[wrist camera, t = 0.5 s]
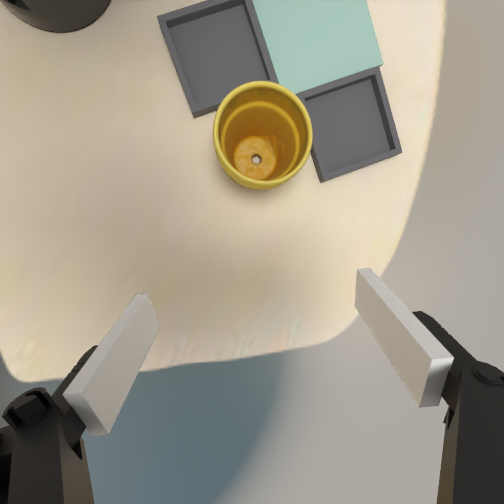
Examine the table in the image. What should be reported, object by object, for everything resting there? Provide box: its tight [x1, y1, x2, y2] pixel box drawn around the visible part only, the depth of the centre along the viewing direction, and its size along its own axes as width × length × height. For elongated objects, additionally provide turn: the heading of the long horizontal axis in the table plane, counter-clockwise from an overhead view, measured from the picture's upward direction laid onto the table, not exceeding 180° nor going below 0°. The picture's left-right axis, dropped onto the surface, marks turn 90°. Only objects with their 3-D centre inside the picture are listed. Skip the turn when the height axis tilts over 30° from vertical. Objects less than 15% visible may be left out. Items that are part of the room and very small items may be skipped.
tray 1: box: [157, 0, 278, 118], centre depth 32 cm, size 12×12×2 cm
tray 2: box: [296, 66, 402, 183], centre depth 34 cm, size 12×12×2 cm
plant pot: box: [213, 81, 313, 190], centre depth 29 cm, size 10×10×10 cm
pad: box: [251, 0, 383, 95], centre depth 33 cm, size 15×15×1 cm
